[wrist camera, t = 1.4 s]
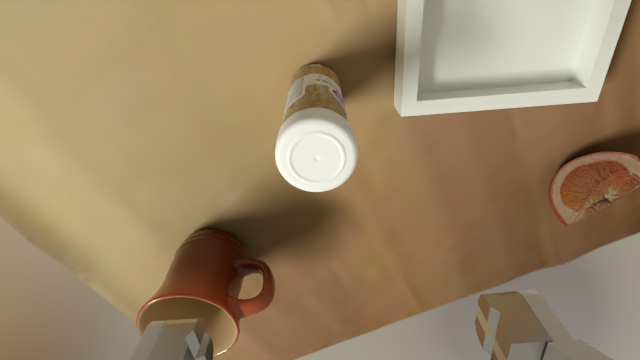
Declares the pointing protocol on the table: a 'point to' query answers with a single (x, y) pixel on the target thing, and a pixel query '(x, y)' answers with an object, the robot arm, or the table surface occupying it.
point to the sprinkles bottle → (315, 132)
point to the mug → (209, 287)
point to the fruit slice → (592, 184)
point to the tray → (502, 53)
